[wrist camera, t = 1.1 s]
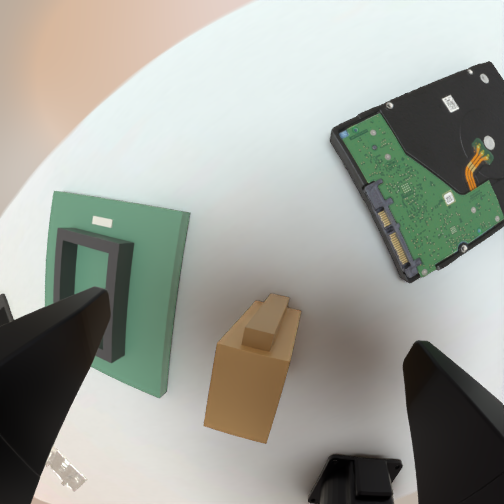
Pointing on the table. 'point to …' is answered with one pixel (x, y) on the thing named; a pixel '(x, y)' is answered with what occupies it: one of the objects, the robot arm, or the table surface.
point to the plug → (252, 369)
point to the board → (121, 278)
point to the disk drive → (431, 167)
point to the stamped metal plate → (65, 470)
